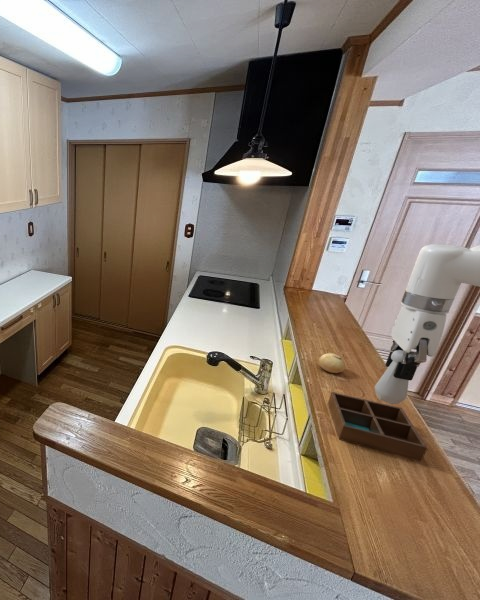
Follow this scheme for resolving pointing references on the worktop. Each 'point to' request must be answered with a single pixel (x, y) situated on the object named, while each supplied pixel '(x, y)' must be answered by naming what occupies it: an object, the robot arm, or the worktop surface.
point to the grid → (375, 426)
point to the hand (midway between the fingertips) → (398, 372)
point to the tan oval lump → (331, 363)
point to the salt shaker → (392, 382)
